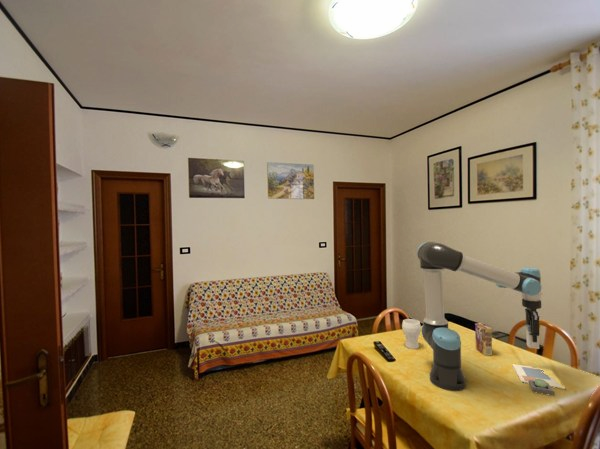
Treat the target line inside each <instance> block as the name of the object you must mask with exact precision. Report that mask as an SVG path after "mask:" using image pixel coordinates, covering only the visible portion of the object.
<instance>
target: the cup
mask: <svg viewBox="0 0 600 449" xmlns="http://www.w3.org/2000/svg"><path fill="white" fill-rule="evenodd" d="M401 327H402V331H403V334H404V335H405V343H404V344H405V347H406V348H407V349H410V350H411V349H412V350H417V349H419V348H420V347H419V346H420V345H419V336H421V335H420V334H421V333H422V331H421V330H422V325H421V323H420V321H419V320H417V319H414V318H412V319H411V318H406V319H403V320H402V323H401Z"/></svg>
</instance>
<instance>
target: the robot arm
mask: <svg viewBox="0 0 600 449" xmlns="http://www.w3.org/2000/svg"><path fill="white" fill-rule="evenodd" d="M416 256H417V258H418V260H419V266H420V269H421V270H422V271H423V280H424V281H423V284H424V300H425V301H424V302H425V317H424V318H423V322H422V323H423V324H422V325H421V334H422V338H423V340H424V341H425V342H426V343H427V344H428V345H429V347H430V348H431V350H432V354H433V355H432V356H433V357H432V358H433V364H432V367H431V368H430V372H429V379H430V380H429V381H430V382H431V383H432V385H434V386H436V387H438V388H441V389H443V390H447V391H462V390H464V389H465V388H466V387H467V380H466V377H465V374H464V371H463V369H462V341H461V336H460V334H459V333H458V332H457V331H456V330H454V329H451V328H449V321H448V320H447V319H446V318H445V305H444V304H445V301H444V286H443V271H444V270H448V271H452V272H458V271H459V272H462V273H464V274H467V275H471V276H473V277H476V278H478V279H482V280H485V281H488V282H490V283H493V284H495V285H496V287H498V288H503V289H511V290H513V291H517V292H519V293H521V306H522V307H524V308H525V309H524V312H525V326H526V325H530V326H531V334H530V333H529V334H530V336H531V348H530V349H536V350H537V349H538V336H539V337H540V315H539V312H538V311H537V310H538V309H539V310H540V309H541V308H542V296H543V293H542V284H541V279H542V277H541V271H540V269H539V268H535V267H522V268H520V271H517V272H513V271H511V270H508V269H505V268H502V267H499V266H496V265H494V264H490V263H487V262H485V261H482V260H479V259H477V258H474V257H469V256H467V255H464V252H461V251H458V250H456V249H454V248H452V247H450V246H447V245H446V244H443V243H438V242H435V241H426V242H423V243H421V244H420V245H419V247H417V252H416ZM538 350H539V349H538Z"/></svg>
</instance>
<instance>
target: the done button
mask: <svg viewBox="0 0 600 449" xmlns="http://www.w3.org/2000/svg"><path fill="white" fill-rule="evenodd" d="M535 386H536V387H540V388H546V389H547V384H546V381H544V380H542V379H535Z"/></svg>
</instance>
